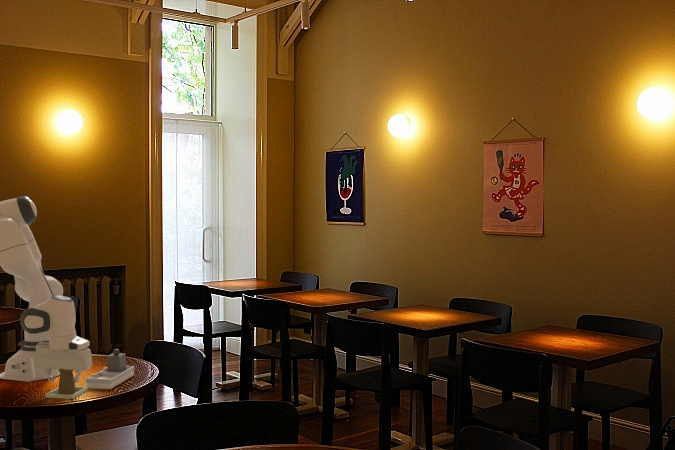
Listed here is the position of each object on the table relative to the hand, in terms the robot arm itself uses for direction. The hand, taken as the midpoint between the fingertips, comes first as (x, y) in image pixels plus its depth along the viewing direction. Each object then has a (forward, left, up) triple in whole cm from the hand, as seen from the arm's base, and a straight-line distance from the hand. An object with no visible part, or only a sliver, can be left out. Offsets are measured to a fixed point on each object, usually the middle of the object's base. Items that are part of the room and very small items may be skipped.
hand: (63, 381), depth 251 cm
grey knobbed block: (+9, +22, -3) cm, 24 cm away
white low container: (+9, +18, -5) cm, 20 cm away
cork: (+1, +1, -5) cm, 5 cm away
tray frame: (+1, +1, -5) cm, 5 cm away
